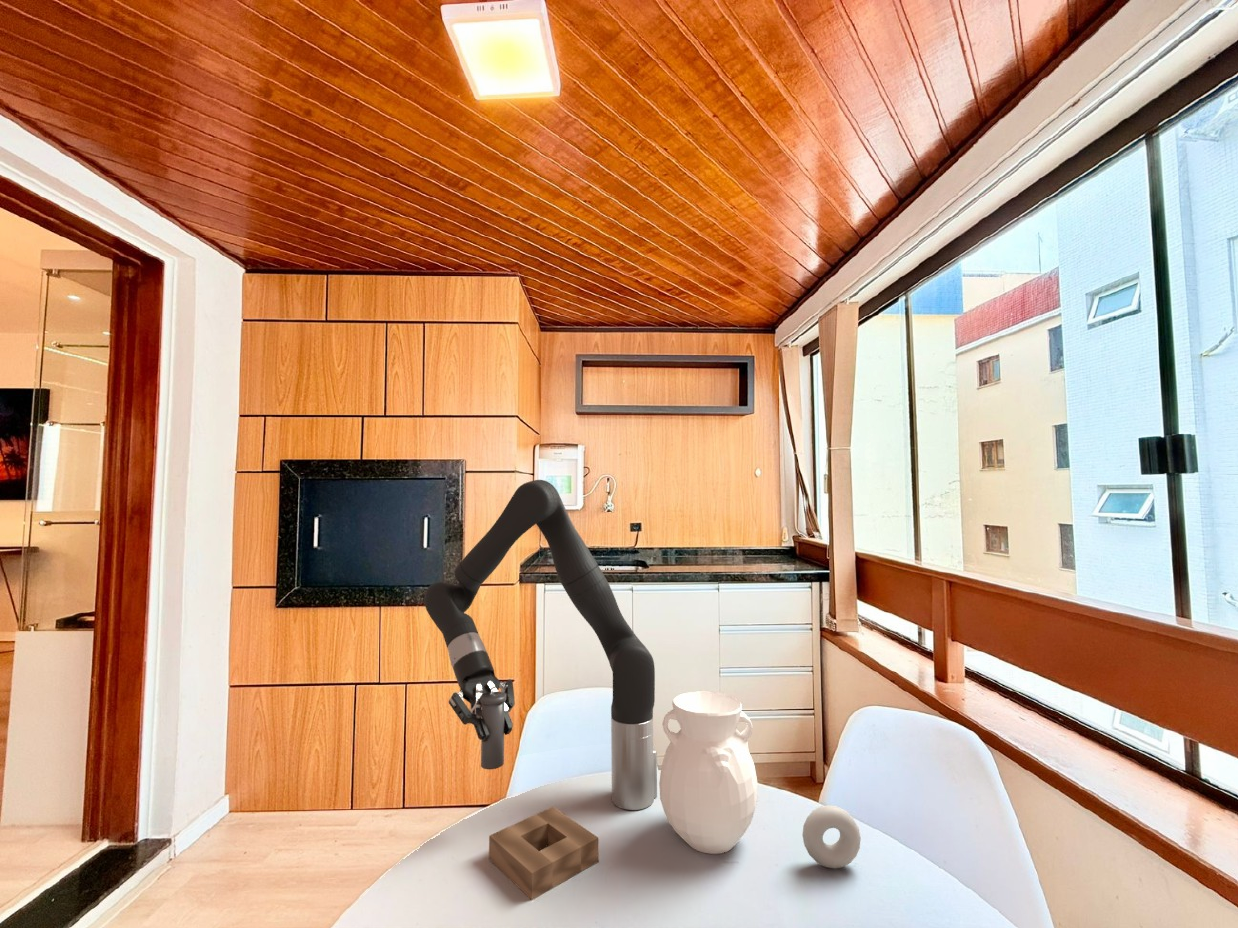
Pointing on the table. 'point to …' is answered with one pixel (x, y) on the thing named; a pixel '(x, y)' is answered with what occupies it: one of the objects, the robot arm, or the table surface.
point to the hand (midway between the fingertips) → (497, 735)
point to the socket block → (543, 851)
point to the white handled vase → (708, 772)
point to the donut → (838, 851)
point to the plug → (493, 729)
